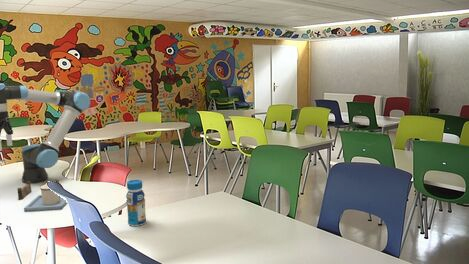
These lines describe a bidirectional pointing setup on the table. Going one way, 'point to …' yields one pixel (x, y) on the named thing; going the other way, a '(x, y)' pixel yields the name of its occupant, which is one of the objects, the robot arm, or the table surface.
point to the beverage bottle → (135, 203)
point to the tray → (39, 206)
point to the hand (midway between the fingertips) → (4, 148)
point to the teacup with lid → (49, 196)
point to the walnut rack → (26, 190)
